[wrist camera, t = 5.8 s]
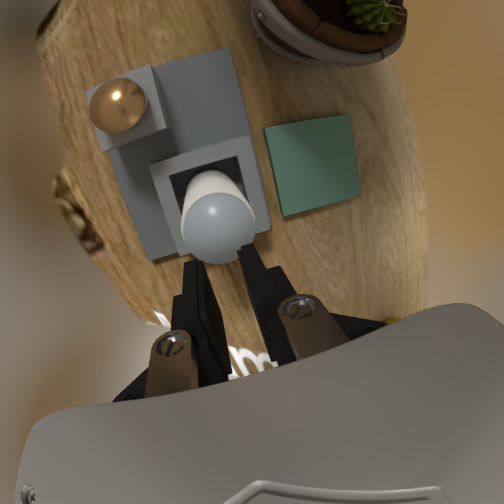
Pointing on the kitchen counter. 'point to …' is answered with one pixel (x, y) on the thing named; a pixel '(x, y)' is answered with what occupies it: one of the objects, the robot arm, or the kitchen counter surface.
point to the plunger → (118, 105)
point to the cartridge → (216, 217)
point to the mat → (312, 163)
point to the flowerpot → (330, 29)
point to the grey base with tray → (183, 146)
